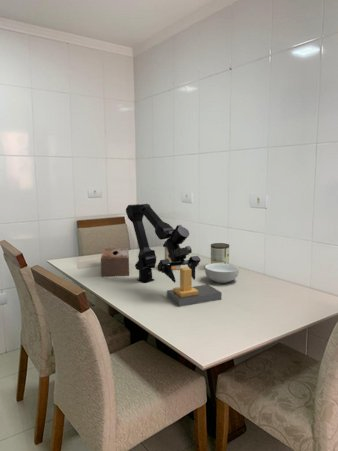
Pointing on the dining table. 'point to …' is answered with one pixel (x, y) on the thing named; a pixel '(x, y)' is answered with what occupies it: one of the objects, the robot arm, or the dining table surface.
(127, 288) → the dining table surface
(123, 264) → the tissue box cover
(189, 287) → the orange post
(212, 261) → the coffee can
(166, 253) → the supplement box
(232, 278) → the cereal bowl
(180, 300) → the grey metal plate
